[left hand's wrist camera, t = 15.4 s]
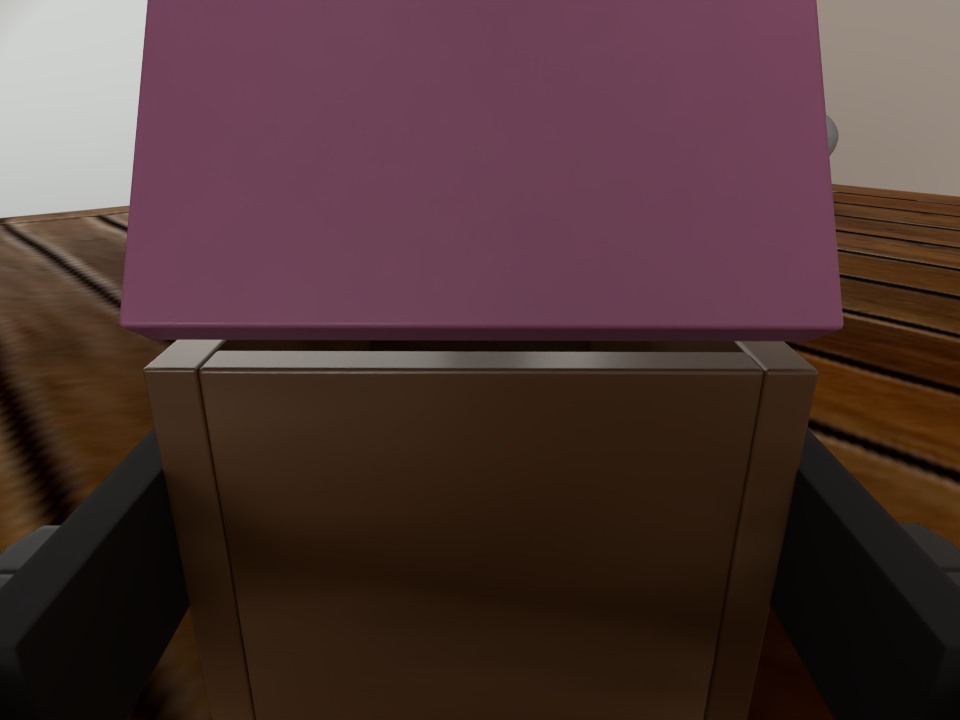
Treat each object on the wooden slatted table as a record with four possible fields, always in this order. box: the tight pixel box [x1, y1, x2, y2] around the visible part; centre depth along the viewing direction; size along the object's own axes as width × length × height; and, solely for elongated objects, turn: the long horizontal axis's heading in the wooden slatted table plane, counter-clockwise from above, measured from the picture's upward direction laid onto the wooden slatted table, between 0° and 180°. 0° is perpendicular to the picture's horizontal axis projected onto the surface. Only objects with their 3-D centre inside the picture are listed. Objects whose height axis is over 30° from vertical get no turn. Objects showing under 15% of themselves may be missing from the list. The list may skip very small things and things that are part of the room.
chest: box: [143, 340, 818, 720], centre depth 19 cm, size 16×10×9 cm, turn 0°
